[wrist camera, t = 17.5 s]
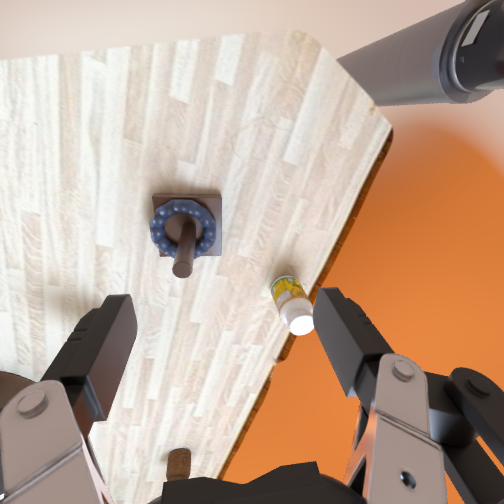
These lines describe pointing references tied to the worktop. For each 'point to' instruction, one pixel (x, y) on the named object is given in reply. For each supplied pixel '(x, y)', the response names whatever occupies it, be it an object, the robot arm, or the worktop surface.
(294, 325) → the supplement bottle
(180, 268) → the brown peg stand
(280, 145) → the worktop surface
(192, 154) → the worktop surface
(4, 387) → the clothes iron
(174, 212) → the ring
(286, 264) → the worktop surface
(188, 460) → the utensil holder
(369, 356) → the robot arm
